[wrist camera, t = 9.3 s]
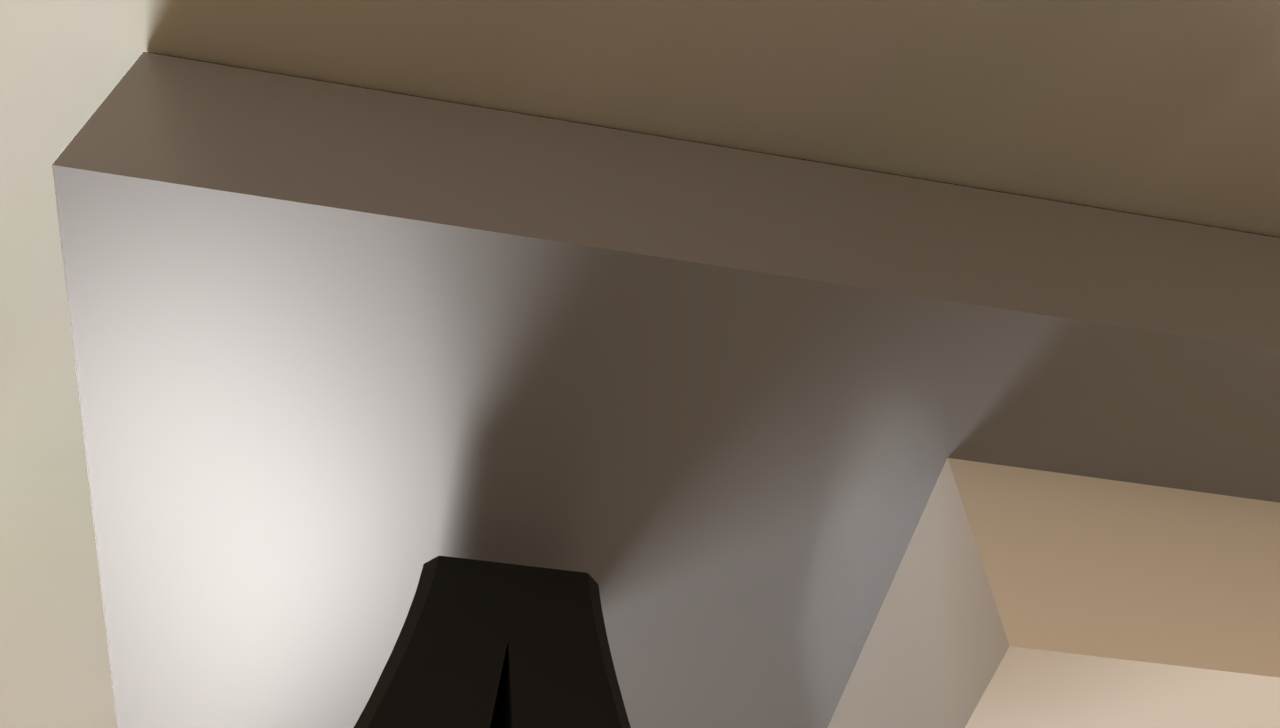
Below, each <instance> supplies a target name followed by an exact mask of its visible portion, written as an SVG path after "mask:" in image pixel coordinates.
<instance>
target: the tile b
mask: <svg viewBox="0 0 1280 728" xmlns="http://www.w3.org/2000/svg"><path fill="white" fill-rule="evenodd" d="M828 728H1280V503H1278V502H1271V501H1264V500H1256V499H1249V498H1241V497H1234V496H1227V495H1219V494H1212V493H1204V492H1197V491H1190V490H1182V489H1175V488H1167V487H1160V486H1153V485H1145V484H1138V483H1130V482H1123V481H1116V480H1108V479H1101V478H1093V477H1086V476H1079V475H1071V474H1064V473H1056V472H1049V471H1042V470H1034V469H1027V468H1019V467H1012V466H1005V465H997V464H990V463H982V462H975V461H968V460H960V459H953V458H947V460H946V462H945V464H944V466H943V469H942V471H941V473H940V475H939V478H938V480H937V482H936V484H935V487H934V489H933V491H932V493H931V496H930V498H929V500H928V502H927V505H926V507H925V509H924V511H923V514H922V516H921V518H920V520H919V523H918V525H917V527H916V529H915V532H914V534H913V536H912V538H911V541H910V543H909V545H908V547H907V550H906V552H905V554H904V556H903V559H902V561H901V563H900V566H899V568H898V570H897V572H896V575H895V577H894V579H893V581H892V584H891V586H890V588H889V590H888V593H887V595H886V597H885V599H884V602H883V604H882V606H881V608H880V611H879V613H878V615H877V617H876V620H875V622H874V624H873V626H872V629H871V631H870V633H869V635H868V638H867V640H866V642H865V644H864V647H863V649H862V651H861V653H860V656H859V658H858V660H857V662H856V665H855V667H854V669H853V671H852V674H851V676H850V678H849V680H848V683H847V685H846V687H845V689H844V692H843V694H842V696H841V698H840V701H839V703H838V705H837V707H836V710H835V712H834V714H833V716H832V719H831V721H830V723H829V726H828Z"/></svg>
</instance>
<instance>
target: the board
mask: <svg viewBox="0 0 1280 728" xmlns="http://www.w3.org/2000/svg"><path fill="white" fill-rule="evenodd" d="M52 167H53V176H54V184H55V193H56V202H57V210H58V219H59V228H60V236H61V245H62V254H63V263H64V271H65V280H66V289H67V297H68V306H69V315H70V324H71V332H72V341H73V350H74V358H75V367H76V376H77V385H78V393H79V402H80V411H81V419H82V428H83V437H84V445H85V454H86V463H87V472H88V480H89V489H90V498H91V506H92V515H93V524H94V533H95V541H96V550H97V559H98V567H99V576H100V585H101V593H102V602H103V611H104V620H105V628H106V637H107V646H108V654H109V663H110V672H111V681H112V689H113V698H114V707H115V715H116V724H117V728H354V726H355V724H356V723H357V721H358V719H359V717H360V715H361V713H362V711H363V710H364V708H365V706H366V704H367V702H368V700H369V698H370V696H371V694H372V692H373V690H374V688H375V686H376V684H377V682H378V680H379V678H380V676H381V674H382V672H383V669H384V667H385V665H386V663H387V661H388V659H389V657H390V655H391V653H392V650H393V648H394V646H395V644H396V641H397V639H398V637H399V634H400V632H401V630H402V627H403V625H404V622H405V620H406V617H407V615H408V612H409V609H410V606H411V604H412V601H413V598H414V596H415V593H416V590H417V586H418V583H419V579H420V575H421V572H422V568H423V564H424V563H426V562H428V561H430V560H432V559H433V558H435V557H437V556H448V557H456V558H465V559H473V560H482V561H490V562H499V563H508V564H516V565H525V566H533V567H542V568H550V569H559V570H568V571H576V572H585V573H588V574H589V575H590V576H591V577H592V578H593V579H594V580H595V581H596V582H597V583H598V585H599V593H600V600H601V607H602V612H603V618H604V623H605V629H606V634H607V638H608V643H609V647H610V652H611V656H612V660H613V664H614V668H615V672H616V676H617V680H618V684H619V688H620V691H621V695H622V698H623V702H624V706H625V709H626V713H627V716H628V720H629V723H630V727H631V728H828V726H829V723H830V721H831V719H832V716H833V714H834V712H835V710H836V707H837V705H838V703H839V701H840V698H841V696H842V694H843V692H844V689H845V687H846V685H847V683H848V680H849V678H850V676H851V674H852V671H853V669H854V667H855V665H856V662H857V660H858V658H859V656H860V653H861V651H862V649H863V647H864V644H865V642H866V640H867V638H868V635H869V633H870V631H871V629H872V626H873V624H874V622H875V620H876V617H877V615H878V613H879V611H880V608H881V606H882V604H883V602H884V599H885V597H886V595H887V593H888V590H889V588H890V586H891V584H892V581H893V579H894V577H895V575H896V572H897V570H898V568H899V566H900V563H901V561H902V559H903V556H904V554H905V552H906V550H907V547H908V545H909V543H910V541H911V538H912V536H913V534H914V532H915V529H916V527H917V525H918V523H919V520H920V518H921V516H922V514H923V511H924V509H925V507H926V505H927V502H928V500H929V498H930V496H931V493H932V491H933V489H934V487H935V484H936V482H937V480H938V478H939V475H940V473H941V471H942V469H943V466H944V464H945V462H946V460H947V458H953V459H960V460H968V461H975V462H982V463H990V464H997V465H1005V466H1012V467H1019V468H1027V469H1034V470H1042V471H1049V472H1056V473H1064V474H1071V475H1079V476H1086V477H1093V478H1101V479H1108V480H1116V481H1123V482H1130V483H1138V484H1145V485H1153V486H1160V487H1167V488H1175V489H1182V490H1190V491H1197V492H1204V493H1212V494H1219V495H1227V496H1234V497H1241V498H1249V499H1256V500H1264V501H1271V502H1278V503H1280V238H1277V237H1271V236H1265V235H1259V234H1253V233H1246V232H1240V231H1234V230H1228V229H1222V228H1216V227H1210V226H1204V225H1198V224H1191V223H1185V222H1179V221H1173V220H1167V219H1161V218H1155V217H1149V216H1143V215H1136V214H1130V213H1124V212H1118V211H1112V210H1106V209H1100V208H1094V207H1088V206H1081V205H1075V204H1069V203H1063V202H1057V201H1051V200H1045V199H1039V198H1033V197H1026V196H1020V195H1014V194H1008V193H1002V192H996V191H990V190H984V189H978V188H971V187H965V186H959V185H953V184H947V183H941V182H935V181H929V180H923V179H916V178H910V177H904V176H898V175H892V174H886V173H880V172H874V171H868V170H861V169H855V168H849V167H843V166H837V165H831V164H825V163H819V162H813V161H806V160H800V159H794V158H788V157H782V156H776V155H770V154H764V153H758V152H751V151H745V150H739V149H733V148H727V147H721V146H715V145H709V144H703V143H696V142H690V141H684V140H678V139H672V138H666V137H660V136H654V135H648V134H641V133H635V132H629V131H623V130H617V129H611V128H605V127H599V126H593V125H586V124H580V123H574V122H568V121H562V120H556V119H550V118H544V117H538V116H531V115H525V114H519V113H513V112H507V111H501V110H495V109H489V108H483V107H476V106H470V105H464V104H458V103H452V102H446V101H440V100H434V99H428V98H421V97H415V96H409V95H403V94H397V93H391V92H385V91H379V90H373V89H366V88H360V87H354V86H348V85H342V84H336V83H330V82H324V81H318V80H311V79H305V78H299V77H293V76H287V75H281V74H275V73H269V72H263V71H256V70H250V69H244V68H238V67H232V66H226V65H220V64H214V63H208V62H201V61H195V60H189V59H183V58H177V57H171V56H165V55H159V54H153V53H146V52H143V54H142V55H141V56H140V57H139V59H138V60H137V61H136V62H135V63H134V65H133V66H132V67H131V68H130V70H129V71H128V72H127V73H126V75H125V76H124V77H123V78H122V80H121V81H120V82H119V83H118V84H117V86H116V87H115V88H114V89H113V91H112V92H111V93H110V94H109V96H108V97H107V98H106V99H105V101H104V102H103V103H102V104H101V105H100V107H99V108H98V109H97V110H96V112H95V113H94V114H93V115H92V117H91V118H90V119H89V120H88V122H87V123H86V124H85V125H84V126H83V128H82V129H81V130H80V131H79V133H78V134H77V135H76V136H75V138H74V139H73V140H72V141H71V142H70V144H69V145H68V146H67V147H66V149H65V150H64V151H63V152H62V154H61V155H60V156H59V157H58V159H57V160H56V161H55V162H54V163H53V165H52Z"/></svg>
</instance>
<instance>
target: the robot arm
mask: <svg viewBox="0 0 1280 728" xmlns="http://www.w3.org/2000/svg"><path fill="white" fill-rule="evenodd" d="M354 728H631V727H630V723H629V720H628V716H627V713H626V709H625V706H624V702H623V698H622V695H621V691H620V688H619V684H618V680H617V676H616V672H615V668H614V664H613V660H612V656H611V652H610V647H609V643H608V638H607V634H606V629H605V623H604V618H603V612H602V607H601V600H600V593H599V585H598V583H597V582H596V581H595V580H594V579H593V578H592V577H591V576H590V575H589V574H588V573H585V572H576V571H568V570H559V569H550V568H542V567H533V566H525V565H516V564H508V563H499V562H490V561H482V560H473V559H465V558H456V557H448V556H437V557H435V558H433V559H432V560H430V561H428V562H426V563H424V564H423V568H422V572H421V575H420V579H419V583H418V586H417V590H416V593H415V596H414V598H413V601H412V604H411V606H410V609H409V612H408V615H407V617H406V620H405V622H404V625H403V627H402V630H401V632H400V634H399V637H398V639H397V641H396V644H395V646H394V648H393V650H392V653H391V655H390V657H389V659H388V661H387V663H386V665H385V667H384V669H383V672H382V674H381V676H380V678H379V680H378V682H377V684H376V686H375V688H374V690H373V692H372V694H371V696H370V698H369V700H368V702H367V704H366V706H365V708H364V710H363V711H362V713H361V715H360V717H359V719H358V721H357V723H356V724H355V726H354Z"/></svg>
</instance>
